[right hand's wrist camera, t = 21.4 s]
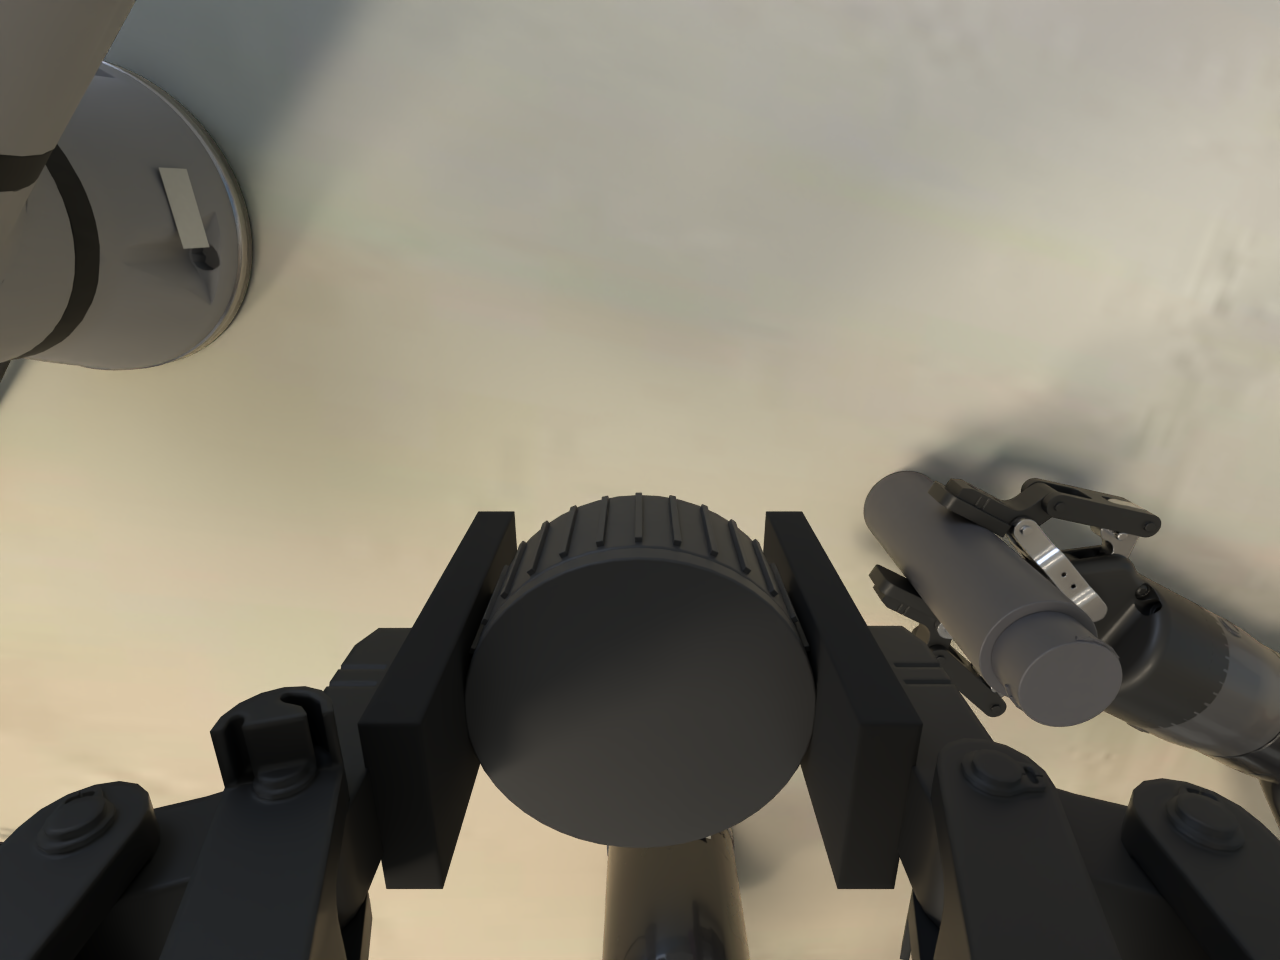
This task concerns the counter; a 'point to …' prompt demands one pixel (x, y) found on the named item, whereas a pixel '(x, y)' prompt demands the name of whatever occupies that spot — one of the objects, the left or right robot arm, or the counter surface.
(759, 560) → the lid
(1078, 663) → the jar
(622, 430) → the counter surface
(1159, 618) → the left robot arm
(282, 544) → the counter surface
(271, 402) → the counter surface
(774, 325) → the counter surface
